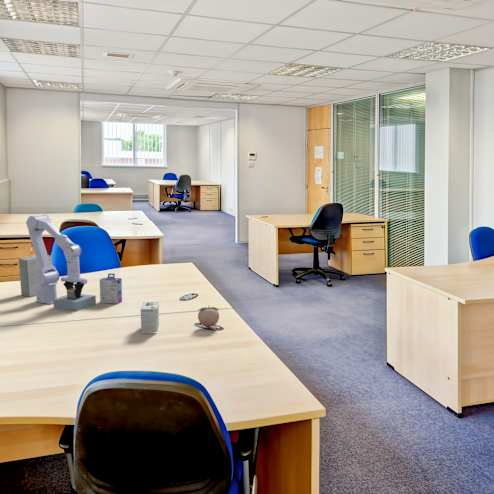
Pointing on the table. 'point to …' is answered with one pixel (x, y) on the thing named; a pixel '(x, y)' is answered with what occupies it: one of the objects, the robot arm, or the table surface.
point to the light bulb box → (149, 317)
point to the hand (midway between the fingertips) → (74, 296)
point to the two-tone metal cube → (72, 294)
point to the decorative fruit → (208, 316)
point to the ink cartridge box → (111, 289)
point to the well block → (74, 302)
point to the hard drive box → (29, 275)
